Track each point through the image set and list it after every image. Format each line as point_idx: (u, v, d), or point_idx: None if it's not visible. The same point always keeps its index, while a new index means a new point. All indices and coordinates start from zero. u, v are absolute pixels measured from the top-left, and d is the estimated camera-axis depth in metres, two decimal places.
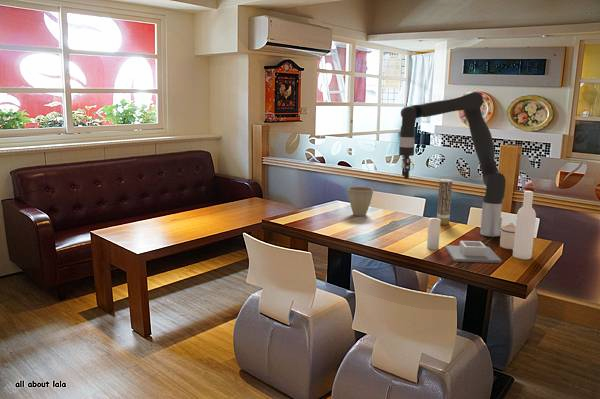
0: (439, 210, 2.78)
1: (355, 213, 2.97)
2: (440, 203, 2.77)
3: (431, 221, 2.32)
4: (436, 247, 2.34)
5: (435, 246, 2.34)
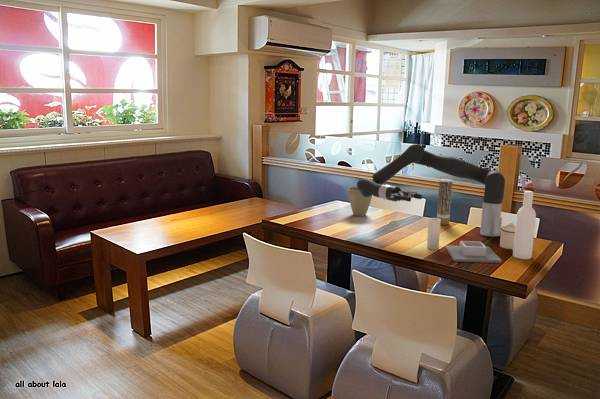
0: (439, 210, 2.78)
1: (355, 213, 2.97)
2: (440, 203, 2.77)
3: (431, 221, 2.32)
4: (436, 247, 2.34)
5: (435, 246, 2.34)
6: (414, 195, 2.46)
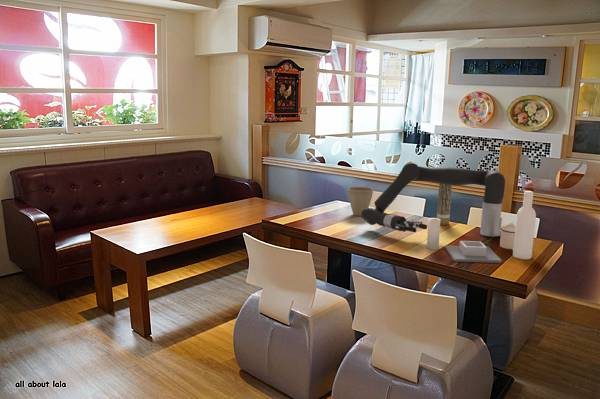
0: (439, 210, 2.78)
1: (355, 213, 2.97)
2: (440, 203, 2.77)
3: (431, 221, 2.32)
4: (436, 247, 2.34)
5: (435, 246, 2.34)
6: (419, 225, 2.46)
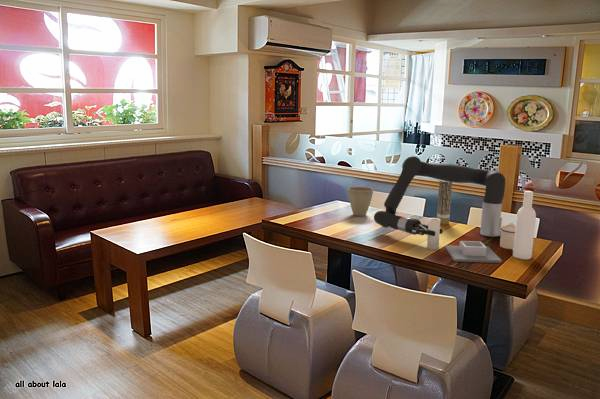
0: (439, 210, 2.78)
1: (355, 213, 2.97)
2: (440, 203, 2.77)
3: (431, 221, 2.32)
4: (436, 247, 2.34)
5: (435, 246, 2.34)
6: None
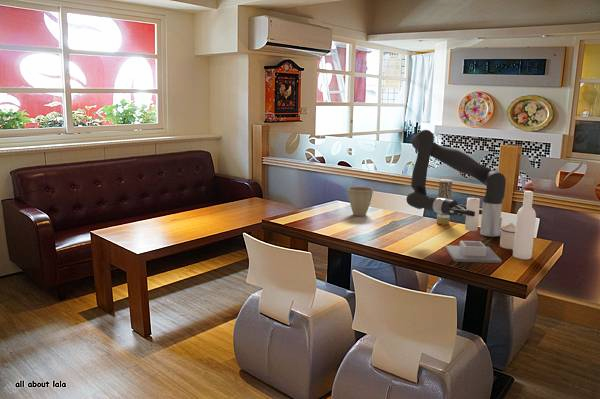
0: None
1: (355, 213, 2.97)
2: None
3: (470, 201, 2.20)
4: (475, 228, 2.22)
5: (474, 227, 2.22)
6: None
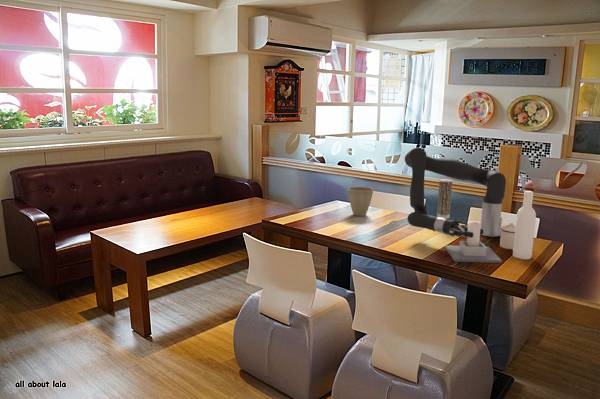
0: (439, 210, 2.78)
1: (355, 213, 2.97)
2: (440, 203, 2.77)
3: (471, 224, 2.22)
4: None
5: None
6: None
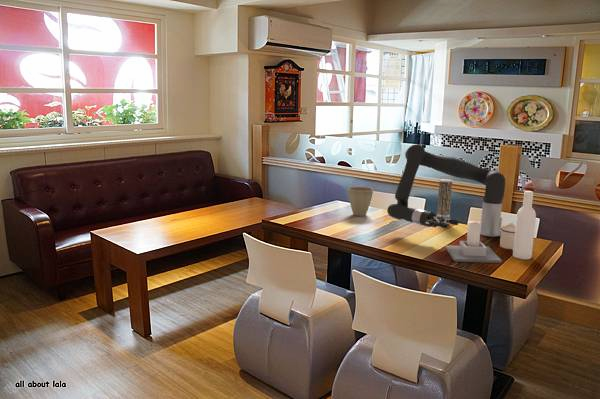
0: (439, 210, 2.78)
1: (355, 213, 2.97)
2: (440, 203, 2.77)
3: (471, 224, 2.22)
4: None
5: None
6: (450, 221, 2.38)
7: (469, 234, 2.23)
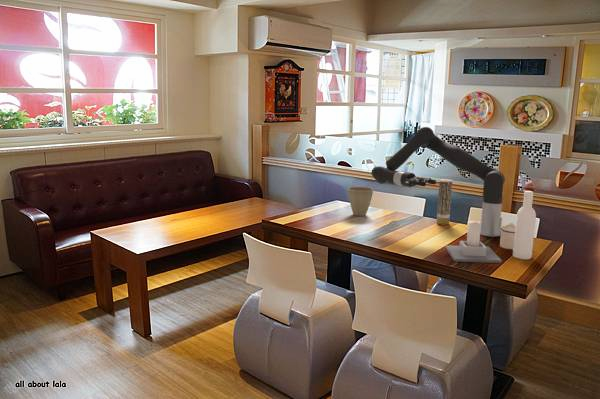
0: (439, 210, 2.78)
1: (355, 213, 2.97)
2: (440, 203, 2.77)
3: (471, 224, 2.22)
4: None
5: None
6: (428, 181, 2.53)
7: (469, 234, 2.23)
